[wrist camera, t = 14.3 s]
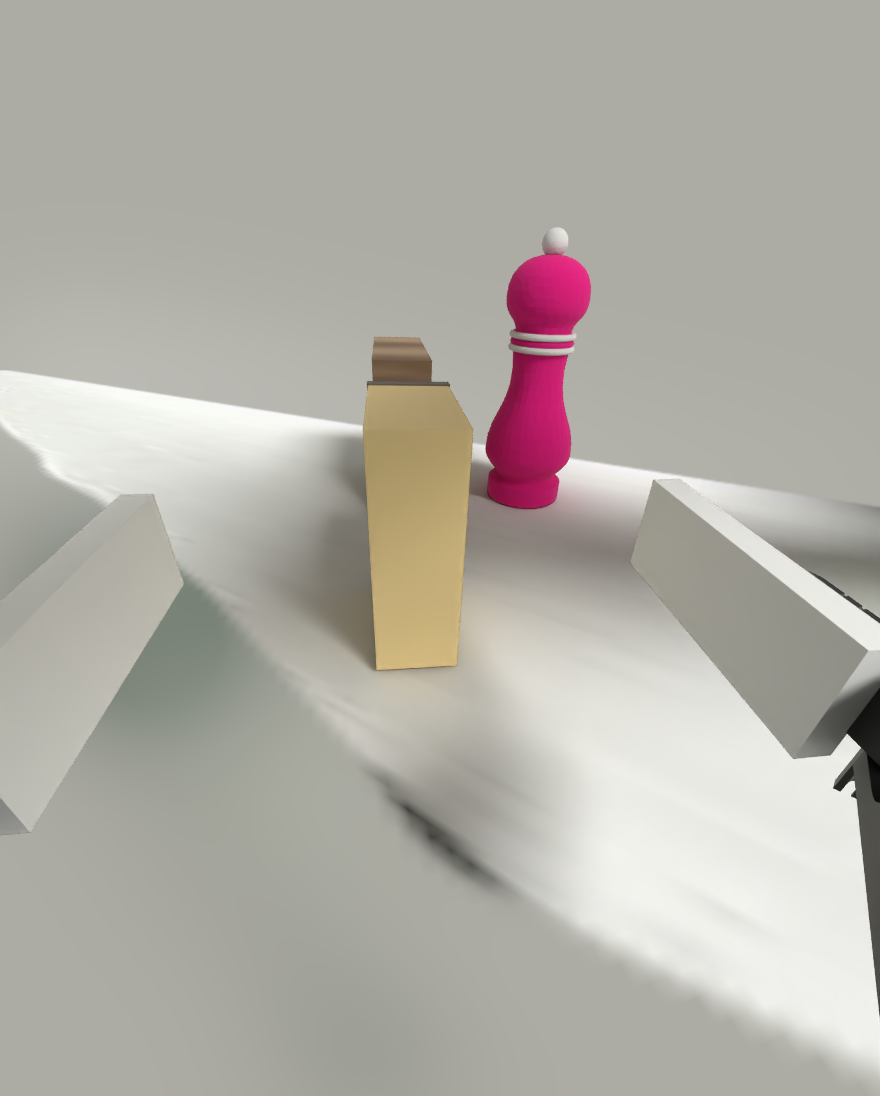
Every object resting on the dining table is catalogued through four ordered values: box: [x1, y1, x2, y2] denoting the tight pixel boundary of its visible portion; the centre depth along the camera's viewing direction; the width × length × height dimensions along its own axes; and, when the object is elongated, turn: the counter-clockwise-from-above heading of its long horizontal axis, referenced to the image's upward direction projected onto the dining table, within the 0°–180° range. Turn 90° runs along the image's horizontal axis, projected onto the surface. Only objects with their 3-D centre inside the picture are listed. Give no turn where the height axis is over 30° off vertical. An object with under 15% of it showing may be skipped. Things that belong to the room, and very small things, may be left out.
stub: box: [363, 381, 473, 670], centre depth 23 cm, size 8×4×12 cm, turn 6°
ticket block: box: [372, 337, 432, 382], centre depth 39 cm, size 12×4×12 cm, turn 6°
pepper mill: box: [486, 228, 591, 508], centre depth 37 cm, size 7×7×20 cm
